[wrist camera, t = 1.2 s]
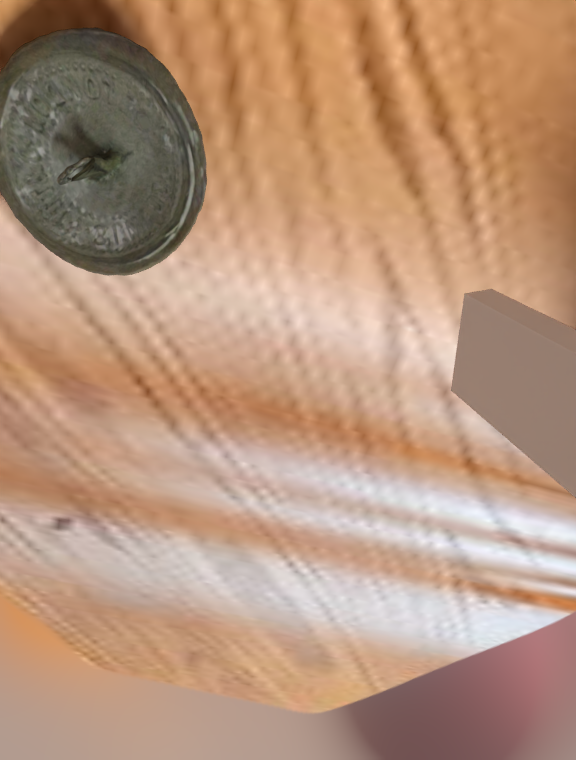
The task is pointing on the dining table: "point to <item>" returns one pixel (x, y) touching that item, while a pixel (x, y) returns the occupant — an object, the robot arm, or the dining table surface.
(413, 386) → the dining table surface
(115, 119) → the lid
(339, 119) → the dining table surface
